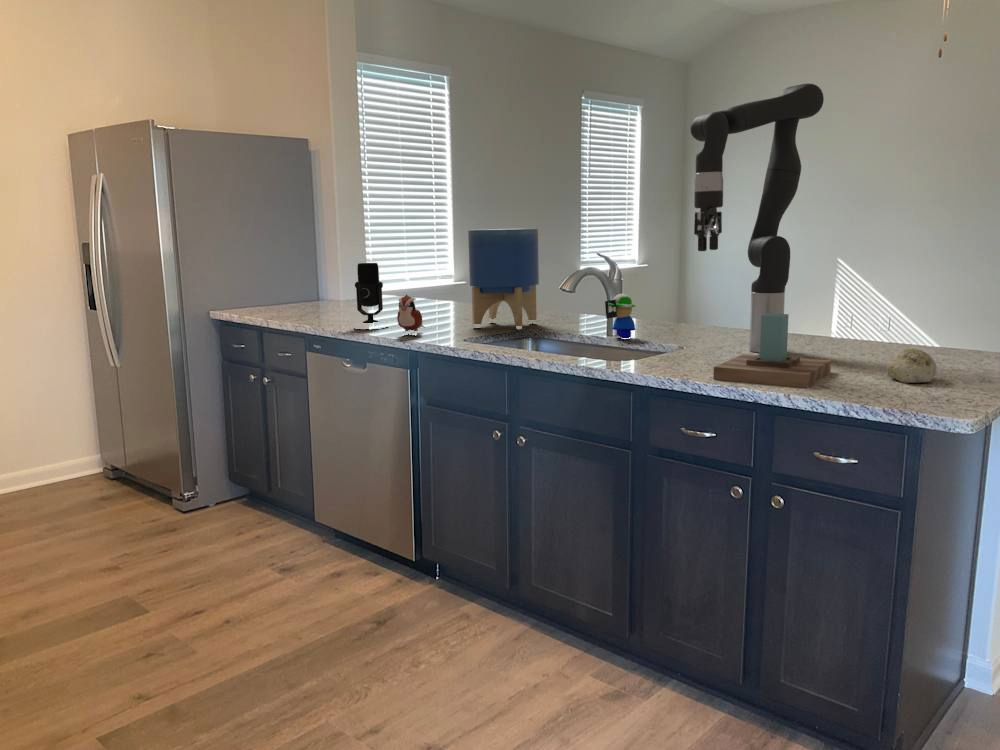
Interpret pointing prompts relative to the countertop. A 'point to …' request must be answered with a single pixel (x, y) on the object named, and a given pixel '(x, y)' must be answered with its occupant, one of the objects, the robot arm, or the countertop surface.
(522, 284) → the planter
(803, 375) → the plinth
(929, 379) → the decorative item
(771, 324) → the pillar
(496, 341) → the countertop surface
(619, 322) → the toy
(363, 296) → the microphone
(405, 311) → the toy
